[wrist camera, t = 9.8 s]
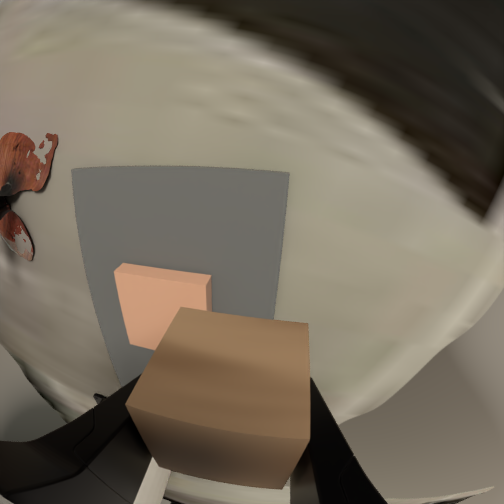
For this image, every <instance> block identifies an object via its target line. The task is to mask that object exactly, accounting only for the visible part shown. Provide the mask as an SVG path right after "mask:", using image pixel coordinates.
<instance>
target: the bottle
mask: <svg viewBox="0 0 504 504" xmlns="http://www.w3.org/2000/svg"><path fill="white" fill-rule="evenodd" d="M170 473H171V470H168V469H164V468H161V467H159V466H158V465H157V463H156V461H155V460H154V458H153V457H152V460H151V462H150V464H149V467H148V469H147V472H146V474H145V477H144V479H143V481H142V484H141V486H140V489H139V491H138V494H137V496H136V499H135V501H134V504H161V501H162V498H163V495H164V492H165V489H166V485H167V482H168V479H169V476H170Z"/></svg>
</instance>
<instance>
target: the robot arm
mask: <svg viewBox="0 0 504 504" xmlns="http://www.w3.org/2000/svg"><path fill="white" fill-rule="evenodd" d="M141 375H142V373H141V374H140V375H139V376H137V377H136V378H134V379H133V380H132V381H130V382H129V383H127V384H126V385H125V386H123V387H122V388H120V389H119V390H118V391H116V392H115V393H113V394H112V395H110V396H109V397H108V398H106V397H103V396H101V395H98V394H94V396H93V397H94V399H95V400H96V402H97V404H98V405H96V406H95V407H94V409H93V408H92V409H90V410H89V411H87V412H86V413H84V414H83V415H81V416H80V417H78V418H77V419H75V420H73V421H71V422H70V423H68V424H66V425H64V426H62V427H60V428H58V429H56V430H54V431H52V432H50V433H49V434H46V435H44V436H42V437H40V438H38V439H35V440H32V441H27V442H11V441H0V504H134V501H135V499H136V496H137V494H138V491H139V489H140V486H141V484H142V481H143V479H144V477H145V474H146V472H147V469H148V467H149V464H150V462H151V460H152V457H153V456H152V455H151V453H150V451H149V449H148V448H147V446H146V444H145V442H144V440H143V439H142V437H141V435H140V433H139V431H138V429H137V427H136V425H135V423H134V421H133V419H132V417H131V415H130V413H129V411H128V409H127V407H126V405H125V404H126V402H127V400H128V398H129V396H130V394H131V393H132V391H133V389H134V387H135V385H136V384H137V382H138V380H139V378H140V376H141ZM353 455H354V453H353V452H352V450H351V448H350V446H349V445H348V443H347V441H346V439H345V437H344V436H343V434H342V432H341V430H340V428H339V426H338V425H337V423H336V421H335V419H334V417H333V416H332V414H331V412H330V410H329V408H328V407H327V405H326V403H325V401H324V399H323V397H322V396H321V394H320V392H319V390H318V388H317V387H316V385H315V383H314V381H313V379H312V378H311V377H310V440H309V442H308V444H307V446H306V448H305V450H304V452H303V454H302V456H301V457H300V459H299V461H298V463H297V465H296V467H295V468H294V470H293V472H292V474H291V475H290V504H388V503H387V502H386V501H385V500H384V498H383V497H382V496H381V494H380V493H379V492H378V491H377V489H376V488H375V487H374V485H373V484H372V483H371V481H370V480H369V479H368V477H367V476H366V474H365V473H364V471H363V469H362V467H361V466H360V464H359V462H358V460H357V459H356V457H355V456H353Z"/></svg>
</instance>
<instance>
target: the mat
mask: <svg viewBox="0 0 504 504" xmlns="http://www.w3.org/2000/svg"><path fill="white" fill-rule="evenodd" d="M71 171H72V185H73V196H74V205H75V213H76V221H77V228H78V234H79V240H80V246H81V251H82V257H83V262H84V267H85V271H86V276H87V280H88V284H89V289H90V293H91V296H92V300H93V304H94V308H95V311H96V315H97V318H98V322H99V325H100V328H101V331H102V335H103V338H104V341H105V344H106V347H107V350H108V353H109V355H110V358H111V361H112V364H113V366H114V369H115V372H116V374H117V377H118V379H119V382H120V384H121V387H123V386H125V385H126V384H127V383H129V382H130V381H132V380H133V379H134V378H136V377H137V376H139V375H140V374H141V373H143V371H144V369H145V367H146V366H147V364H148V362H149V360H150V359H151V357H152V355H153V353H154V352H155V350H152V349H148V348H144V347H140V346H136V345H132V344H130V342H129V338H128V334H127V330H126V326H125V322H124V318H123V314H122V310H121V305H120V301H119V296H118V291H117V286H116V281H115V275H114V271H115V270H116V269H117V268H118V267H119V266H120V265H121V264H122V263H128V264H134V265H141V266H148V267H155V268H162V269H169V270H176V271H184V272H191V273H199V274H206V275H211V285H212V312H218V313H225V314H232V315H239V316H246V317H254V318H262V319H271V320H273V319H274V312H275V304H276V296H277V288H278V279H279V271H280V262H281V253H282V244H283V235H284V226H285V216H286V206H287V196H288V185H289V174H290V173H288V172H277V171H266V170H254V169H240V168H223V167H200V166H112V167H90V168H75V169H72V170H71Z"/></svg>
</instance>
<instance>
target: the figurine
mask: <svg viewBox="0 0 504 504" xmlns="http://www.w3.org/2000/svg"><path fill="white" fill-rule="evenodd" d="M46 138H48V141H52V148H51V150H50V151H49V153H47V154H46V155H45V158H46V164H45V165H44V164H43V163H40V159H38V158H37V156H36V155H34V153H32V152H33V151H34V150H35V144H34V142H33V141H32V140H31V139H30V138H28V137H27V136H26V135H24V134H22V133H14V132H9V133H7V134H5V135H4V136H3V137H2V138H1V140H0V235H1V237H2V239H3V240H4V241H5V243H6V244H7V246H8V247H9V248H10V249H11V250H12V251H14V252H15V253H16V254H18V255H19V256H21V257H23V258H25V259H27V260H29V261H30V260H32V256H33V247H32V250H31V253H29V252H28V251H27V249H25V251H24V254H21V253H20V252H19V251H18V249H17V247H16V244H15V239H14V238H13V236H14V237H15V234H18V233H19V234H21V231H22V229H23V231H24V232H25V234H26V235H27V236H28V237H29V235H28V233H27V231H26V229H25V227H24V225H23V223H22V221H21V220H20V218H19V217H18V216H17V214H16V213H15V212H13V211H12V210H10V205H9V204H7V203H6V201H5V197H4V196H12V195H14V194H16V193H17V192H19V191H21V190H22V191H23V190H25V189H26V190H29V189H32V190H33V191H38V190H40V189H41V188H42V187H43V185H44V183H45V181H46V179H47V176H48V174H49V169H50V166H51V160H52V158H53V153H54V149H55V147H56V146H57V140H58V137H57V135H56V134H54V135H52V134H50V133H47V134H46ZM43 147H44V140H43V142H42V143H41V144H40V146H39V148H40V149H41V148H43ZM29 150H30V153H29V156H28V157H27V153H28V151H29ZM26 157H27V158H26ZM39 169H40V170H41V173H40V172H39ZM38 173H40V179H39V180H37V179H36V175H37V174H38ZM20 226H22V227H21V228H22V229H21V228H20ZM17 227H18V228H17ZM15 229H16V230H15ZM9 232H10V233H9ZM14 232H15V234H14ZM12 235H13V236H12ZM18 236H19V235H18ZM29 239H30V237H29ZM23 240H24V241H25V239H23ZM30 241H31V240H30ZM25 242H26V241H25ZM31 244H32V243H31Z"/></svg>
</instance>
